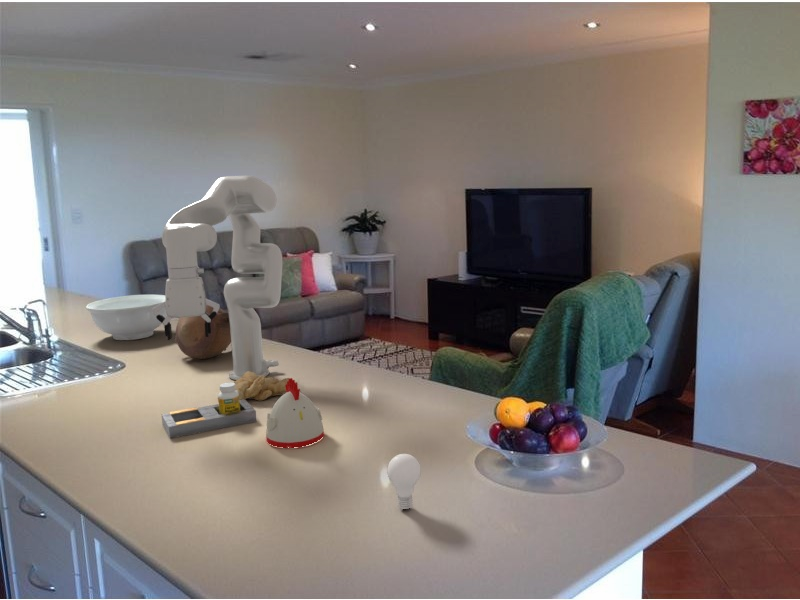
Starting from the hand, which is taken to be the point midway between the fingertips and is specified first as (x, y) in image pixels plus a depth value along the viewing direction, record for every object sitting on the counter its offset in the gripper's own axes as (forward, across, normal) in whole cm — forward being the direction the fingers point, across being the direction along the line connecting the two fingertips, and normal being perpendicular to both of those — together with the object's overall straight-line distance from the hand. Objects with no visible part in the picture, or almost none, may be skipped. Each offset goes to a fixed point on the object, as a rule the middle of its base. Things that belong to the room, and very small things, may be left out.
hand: (188, 337), depth 193 cm
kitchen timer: (+22, -26, +24) cm, 42 cm away
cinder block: (+22, -4, +8) cm, 23 cm away
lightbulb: (+22, -45, +67) cm, 84 cm away
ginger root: (+22, -16, -12) cm, 30 cm away
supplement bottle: (+22, -10, +6) cm, 25 cm away
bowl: (+20, +34, -107) cm, 114 cm away
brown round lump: (+21, -1, -66) cm, 69 cm away
